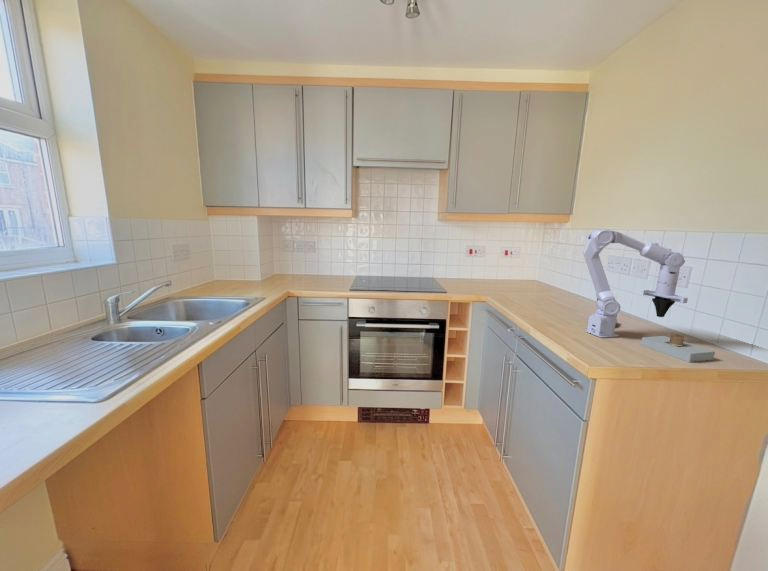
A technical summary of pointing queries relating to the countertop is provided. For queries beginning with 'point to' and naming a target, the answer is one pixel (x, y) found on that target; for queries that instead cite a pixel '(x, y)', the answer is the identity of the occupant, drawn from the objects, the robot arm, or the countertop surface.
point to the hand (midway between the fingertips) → (660, 316)
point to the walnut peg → (676, 340)
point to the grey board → (678, 349)
